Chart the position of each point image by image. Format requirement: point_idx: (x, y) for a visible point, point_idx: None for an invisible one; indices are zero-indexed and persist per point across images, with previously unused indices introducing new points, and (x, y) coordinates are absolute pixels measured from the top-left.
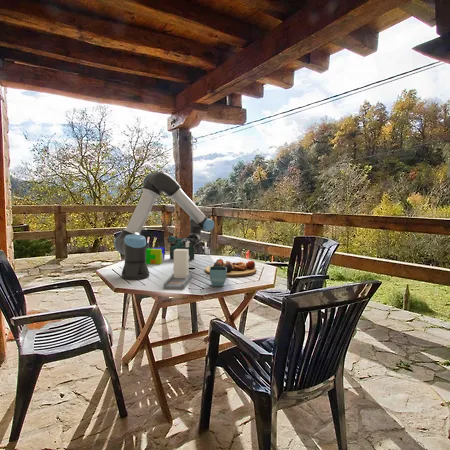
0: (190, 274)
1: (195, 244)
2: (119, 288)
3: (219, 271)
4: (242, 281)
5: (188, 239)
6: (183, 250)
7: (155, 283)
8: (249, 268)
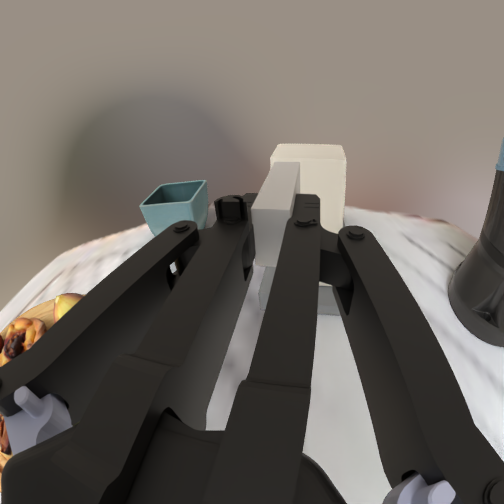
0: (267, 271)
1: (173, 276)
2: (441, 220)
3: (180, 185)
4: (101, 266)
5: (283, 387)
6: (295, 146)
7: (384, 247)
8: (3, 343)
